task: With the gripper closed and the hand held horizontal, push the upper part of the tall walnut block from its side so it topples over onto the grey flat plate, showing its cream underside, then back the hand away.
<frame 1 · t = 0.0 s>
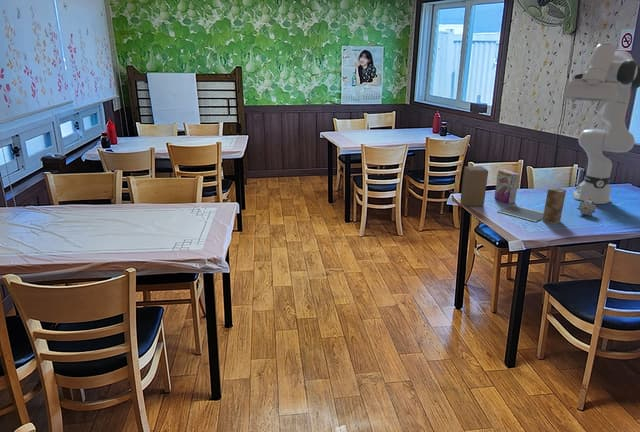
hand: (585, 109, 196), 54 cm above the table, tool tilted 30°, fingers open, 8 cm apart
grey flat plate: (523, 213, 232), on the table
walnut block: (551, 221, 222), on the table
candy bar box: (504, 200, 252), on the table
cream knobbly lump: (585, 215, 230), on the table
wooden block: (471, 204, 246), on the table
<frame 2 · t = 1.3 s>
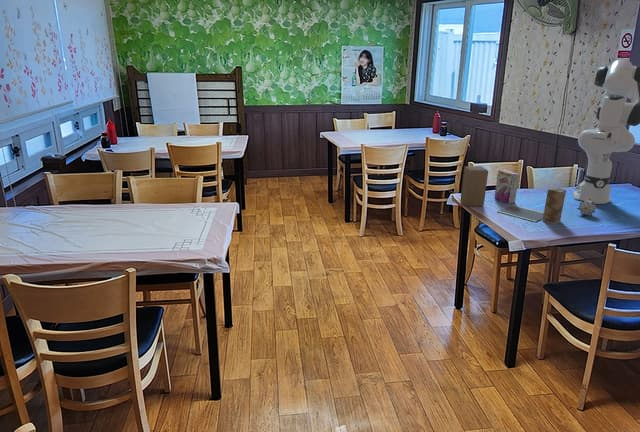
hand: (600, 163, 206), 30 cm above the table, tool pointing down, fingers open, 8 cm apart
nothing on the table moved.
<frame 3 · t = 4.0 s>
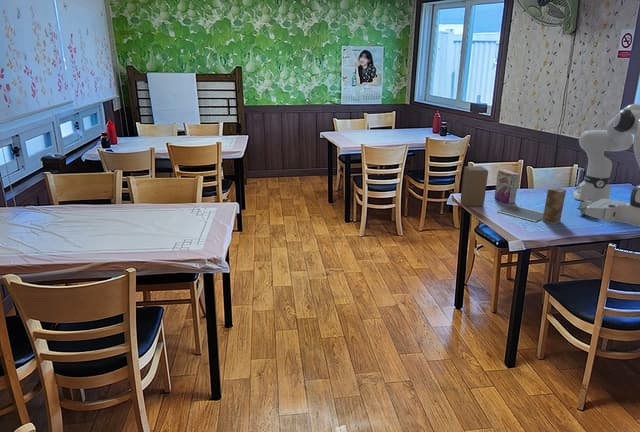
hand: (582, 203, 209), 12 cm above the table, tool horizontal, fingers closed
nothing on the table moved.
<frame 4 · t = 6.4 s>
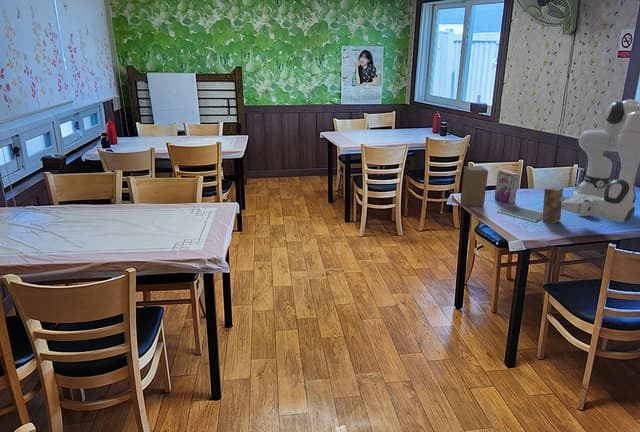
hand: (559, 198, 216), 12 cm above the table, tool horizontal, fingers closed
walnut block: (551, 220, 222), on the table, tilted 5°, touching gripper
everything else where it was.
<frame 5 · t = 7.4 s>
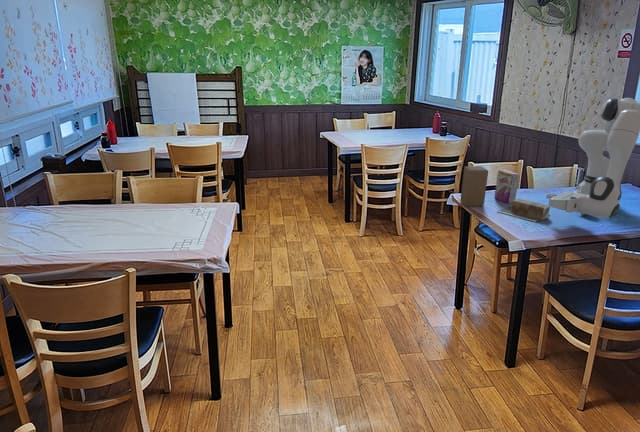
hand: (547, 195, 220), 12 cm above the table, tool horizontal, fingers closed
walnut block: (546, 212, 223), point 3 cm above the table, tilted 90°, touching grey flat plate
everything else where it was.
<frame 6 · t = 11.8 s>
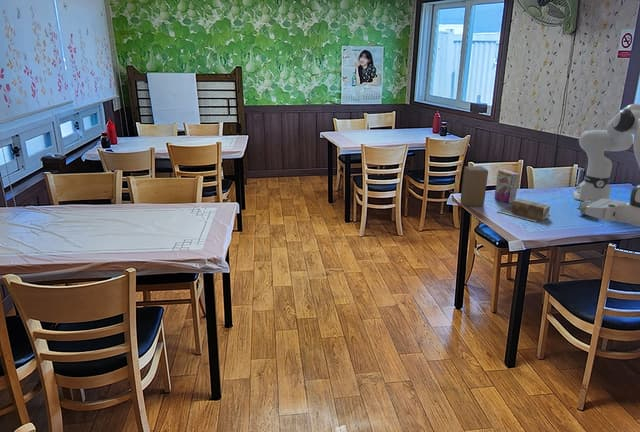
hand: (582, 203, 209), 12 cm above the table, tool horizontal, fingers closed
nothing on the table moved.
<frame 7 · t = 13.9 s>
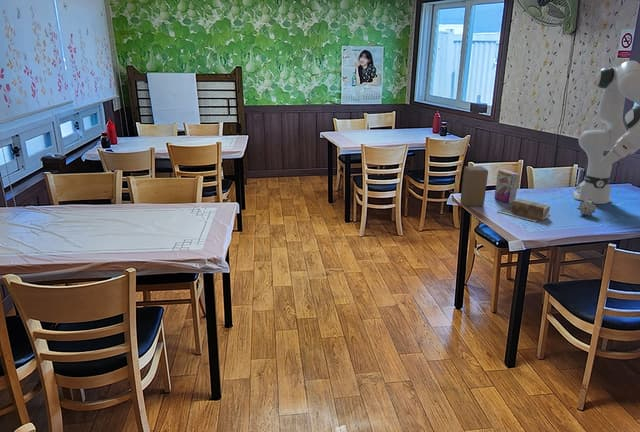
hand: (603, 163, 212), 29 cm above the table, tool tilted 40°, fingers closed
nothing on the table moved.
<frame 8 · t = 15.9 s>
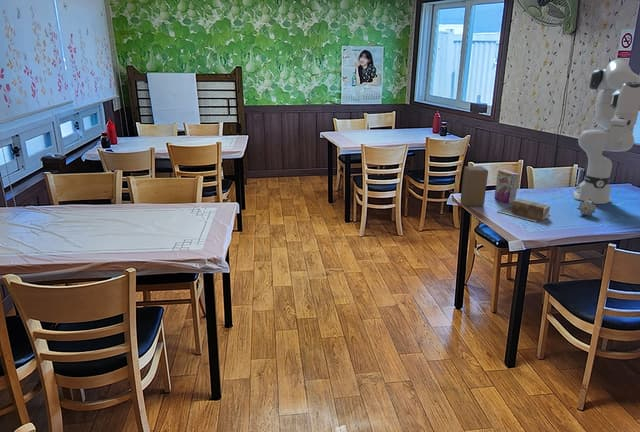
hand: (617, 150, 210), 35 cm above the table, tool pointing down, fingers closed
nothing on the table moved.
at the end: walnut block tilted 90°; walnut block touching grey flat plate; walnut block moved 4.5 cm from its start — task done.
